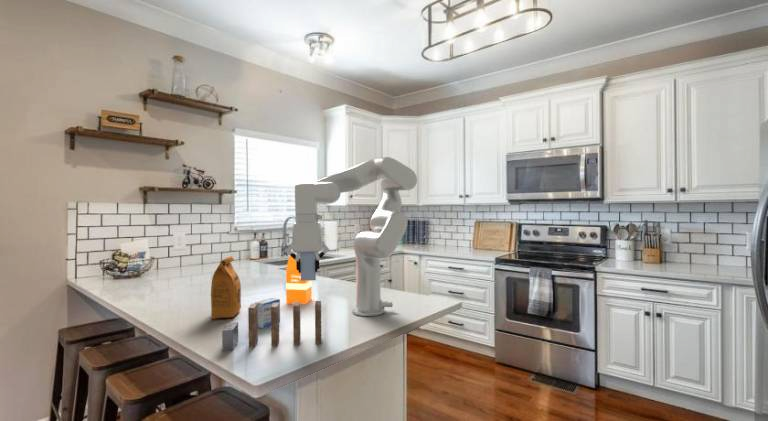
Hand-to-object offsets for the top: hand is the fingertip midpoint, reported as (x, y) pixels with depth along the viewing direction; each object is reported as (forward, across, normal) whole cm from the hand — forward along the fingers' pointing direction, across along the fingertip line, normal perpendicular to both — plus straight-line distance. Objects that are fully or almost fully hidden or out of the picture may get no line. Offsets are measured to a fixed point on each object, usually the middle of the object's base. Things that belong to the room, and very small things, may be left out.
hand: (308, 271), depth 133 cm
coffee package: (+20, +32, -20) cm, 42 cm away
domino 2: (+19, +10, +14) cm, 25 cm away
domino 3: (+19, +3, +14) cm, 24 cm away
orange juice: (+20, +6, -36) cm, 42 cm away
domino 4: (+3, 0, 0) cm, 3 cm away
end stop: (+19, +23, +14) cm, 33 cm away
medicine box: (+20, +15, -6) cm, 25 cm away
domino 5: (+20, -3, +14) cm, 24 cm away
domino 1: (+19, +16, +14) cm, 29 cm away
